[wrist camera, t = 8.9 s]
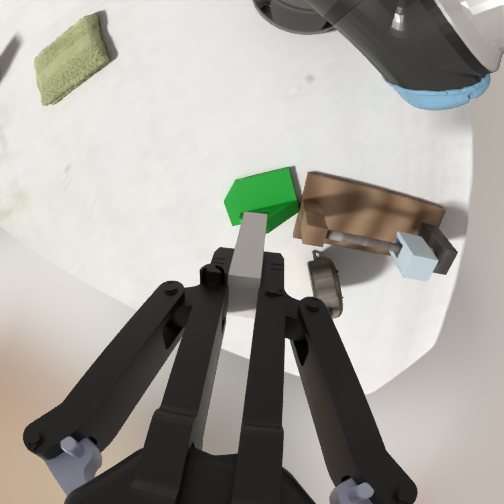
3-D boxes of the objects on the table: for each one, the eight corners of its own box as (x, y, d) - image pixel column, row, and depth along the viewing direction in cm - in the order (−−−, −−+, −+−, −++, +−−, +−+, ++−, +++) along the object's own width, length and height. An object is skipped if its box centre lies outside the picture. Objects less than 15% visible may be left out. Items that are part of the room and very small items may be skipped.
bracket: (288, 166, 45) (290, 179, 40) (298, 207, 49) (301, 226, 43) (219, 183, 48) (211, 198, 42) (233, 222, 52) (228, 242, 46)
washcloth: (36, 59, 34) (26, 60, 31) (99, 10, 30) (89, 8, 27) (51, 109, 40) (40, 112, 38) (115, 65, 36) (106, 65, 34)
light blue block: (389, 251, 44) (402, 277, 38) (397, 231, 42) (413, 255, 36) (412, 256, 44) (427, 281, 38) (421, 236, 42) (438, 260, 36)
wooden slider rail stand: (292, 234, 52) (295, 268, 43) (307, 172, 45) (315, 195, 36) (420, 258, 52) (439, 290, 43) (442, 208, 45) (469, 235, 37)
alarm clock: (304, 247, 53) (311, 308, 40) (332, 241, 52) (348, 301, 38) (312, 290, 59) (319, 352, 45) (337, 286, 58) (350, 347, 44)
